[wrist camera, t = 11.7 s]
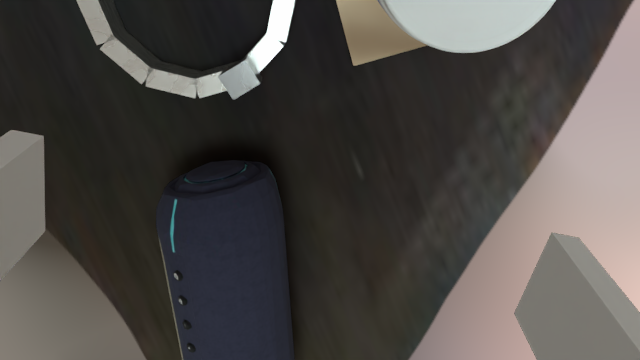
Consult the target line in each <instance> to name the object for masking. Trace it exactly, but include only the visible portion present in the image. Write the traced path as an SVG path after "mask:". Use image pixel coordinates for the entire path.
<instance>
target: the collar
mask: <svg viewBox="0 0 640 360" xmlns="http://www.w3.org/2000/svg"><path fill="white" fill-rule="evenodd" d="M76 1H77V3H78V5H79V7H80V10H81V12H82V14H83V16H84V18H85V20H86V23H87V25H88V27H89V29H90V31H91V34H92V36H93V38H94V40H95V42H96V45H99V44H102V43H104V44H103V46H102V47H101V48H100V50H101V51H103V52H104V53H105V54H106V55H107V56H109V57H110V58H111V59H112V60H113V61H114V62H116V63H117V64H118V65H119V66H120V67H122V68H123V69H124V70H125V71H126V72H128V73H129V74H130V75H131V76H132V77H133V78H135V79H136V80H137V81H138V82H139V83H141V84H143V83H144V82H145V81H146V87H150V88H154V89H158V90H162V91H167V92H171V93H175V94H179V95H183V96H187V97H191V98H196V97H197V96H199V98H203V97H206V96H210V95H213V94H217V93H220V92H224V91H228V93H229V94H230V96H231V97H232V99H233V100H235V99H236V98H238V97H239V96H241V95H243V94H244V93H246V92H248V91H249V90H251V89H253V88H254V87H256V86H258V85H259V84H261V82H262V80H263V78H262V76H261V75H260V72H261V70H262V69H263V68H264V67H265V66H266V65H267V64H268V63H269V62H270V61H271V60H272V59H273V57H274V56H275V55H276V54H277V53H278V52H279V51H280V50H281V49H282V48H283V47H284V45H285V42H286V41H287V39H288V36H289V32H290V27H291V23H292V18H293V13H294V9H295V4H296V0H273V3H272V8H271V13H270V18H269V23H268V28H267V32H266V33H265V35H264V36H263V37H262V38H261V39H260V40H259V41H258V42H257V43H256V45H255V46H254V47H253V48H252V49H251V50H250V51H249V52H248V53H247V55H246V56H245V57H244V58H243V59H242V60H239V61H236V62H232V63H229V64H225V65H222V66H218V67H215V68H212V69H208V70H205V71H200V70H196V69H192V68H188V67H184V66H180V65H176V64H172V63H167V62H163V61H160V60H159V59H158V58H157V57H156V56H155V55H153V54H152V53H151V52H150V51H149V50H148V49H146V48H145V47H144V46H143V45H142V44H141V43H140V42H138V41H137V40H136V39H135V38H134V37H133V36H131V35H130V34H129V33H128V32H127V31H126V30H125V27H124V25H123V23H122V20H121V18H120V16H119V13H118V11H117V9H116V6H115V4H114V2H113V0H76Z"/></svg>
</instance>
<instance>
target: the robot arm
mask: <svg viewBox="0 0 640 360" xmlns="http://www.w3.org/2000/svg"><path fill="white" fill-rule="evenodd" d="M44 232H45V187H44V136H41V135H36V134H31V133H26V132H20V131H15V130H10V131H9V132H7V133H6V134H4V135H3V136H1V137H0V281H1V280H2V279H3V277H4V276H5V275H6V274H7V273H8V272H9V271H10V270H11V269H12V267H13V266H14V265H15V264H16V263H17V262H18V261H19V259H20V258H22V256H23V255H24V254H25V253H26V252H27V251H28V250H29V249H30V247H31V246H32V245H33V244H34V243H35V242H36V241H37V240H38V238H40V236H41V235H42V234H43V233H44ZM514 314H515V316H516V318H517V320H518V322H519V324H520V326H521V328H522V330H523V332H524V335H525V336H526V339H527V341H528V343H529V344H530V347H531V349H532V351H533V353H534V355H535V357H536V359H537V360H640V312H639V311H638V310H637V308H636V307H635V306H634V305H633V304H632V302H631V301H630V300H629V299H628V297H627V296H626V295H625V294H624V292H623V291H622V290H621V289H620V288H619V286H618V285H617V284H616V283H615V281H614V280H613V279H612V278H611V277H610V275H609V274H608V273H607V272H606V270H605V269H604V268H603V267H602V265H601V264H600V263H599V262H598V261H597V259H596V258H595V257H594V256H593V254H592V253H591V252H590V251H589V250H588V248H587V247H586V246H585V245H584V243H583V242H582V241H581V240H580V239H579V238H578V237H573V236H568V235H563V234H557V233H551V235H550V237H549V239H548V241H547V244H546V246H545V248H544V250H543V252H542V254H541V257H540V259H539V261H538V263H537V265H536V267H535V270H534V272H533V274H532V276H531V278H530V280H529V282H528V285H527V287H526V289H525V291H524V293H523V295H522V298H521V300H520V302H519V304H518V306H517V308H516V310H515V313H514Z"/></svg>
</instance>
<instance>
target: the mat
mask: <svg viewBox="0 0 640 360" xmlns="http://www.w3.org/2000/svg"><path fill="white" fill-rule="evenodd" d="M336 2H337V6H338V10H339V13H340V17H341V21H342V25H343V29H344V32H345V36H346V40H347V44H348V48H349V51H350V55H351V59H352V63H353V66H356V65H359V64H363V63H366V62H370V61H373V60H377V59H381V58H384V57H388V56H391V55H395V54H398V53H402V52H406V51H409V50H413V49H416V48H420V47H423V46H427V45H426V44H424V43H422V42H420V41H418V40H416V39H414V38H413V37H411V36H410V35H408V34H407V33H406V32H404V31H403V30H402V29H401V28H400V27H399V26H398V25H397V24H396V23H395V22H394V21H393V20H392V19H391V18H390V17H389V16H388V14H387V13H386V12H385V10H384V9H383V8H382V6H381V5H380V3H379V2H378V1H377V0H336Z"/></svg>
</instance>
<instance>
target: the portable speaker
mask: <svg viewBox="0 0 640 360" xmlns="http://www.w3.org/2000/svg"><path fill="white" fill-rule="evenodd" d="M156 228H157V232H158V236H159V243H160V248H161V253H162V258H163V263H164V268H165V273H166V278H167V283H168V288H169V294H170V299H171V305H172V310H173V315H174V320H175V325H176V330H177V336H178V341H179V346H180V351H181V356H182V360H294V347H293V334H292V321H291V308H290V295H289V282H288V269H287V256H286V243H285V230H284V217H283V208H282V204H281V200H280V196H279V192H278V188H277V184H276V180H275V177H274V175H273V174H272V172H271V171H270V169H269V167H268V166H267V165H265V164H263V163H262V162H254V161H238V160H228V161H216V162H209V163H207V164H204V165H202V166H200V167H197V168H195V169H193V170H191V171H190V172H188V173H185V174H183V175H180V176H179V177H177V178H176V179H174V180H172V181H171V182H169V183H168V185H167V186H166V187H165V189H164V191H163V194H162V196H161V199H160V201H159V203H158V206H157V211H156Z"/></svg>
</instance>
